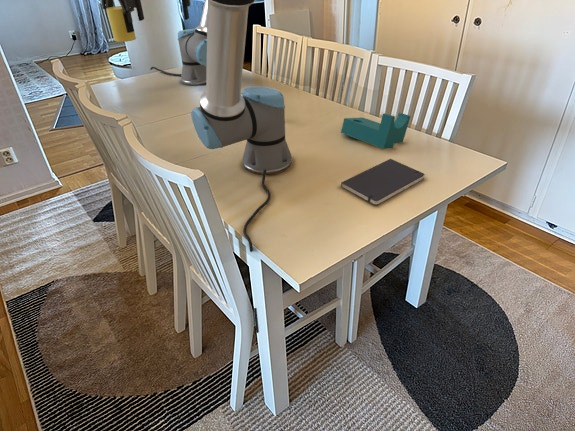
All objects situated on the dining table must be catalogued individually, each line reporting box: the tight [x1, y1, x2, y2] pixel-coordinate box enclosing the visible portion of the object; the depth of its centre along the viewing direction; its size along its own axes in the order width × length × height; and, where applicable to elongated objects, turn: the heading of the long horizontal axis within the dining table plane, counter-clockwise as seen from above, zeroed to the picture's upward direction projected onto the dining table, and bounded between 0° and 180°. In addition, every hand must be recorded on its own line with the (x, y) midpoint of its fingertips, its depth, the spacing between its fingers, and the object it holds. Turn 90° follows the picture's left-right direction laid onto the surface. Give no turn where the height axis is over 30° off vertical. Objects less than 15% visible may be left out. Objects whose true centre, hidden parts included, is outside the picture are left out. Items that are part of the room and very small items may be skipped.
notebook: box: [340, 158, 425, 206], centre depth 114 cm, size 13×2×21 cm
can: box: [106, 5, 137, 43], centre depth 154 cm, size 8×8×11 cm
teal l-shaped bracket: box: [340, 112, 412, 150], centre depth 135 cm, size 18×11×10 cm, turn 43°
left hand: (123, 30), depth 156 cm, fingers closed on can, 8 cm apart
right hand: (164, 19), depth 120 cm, fingers open, 13 cm apart
